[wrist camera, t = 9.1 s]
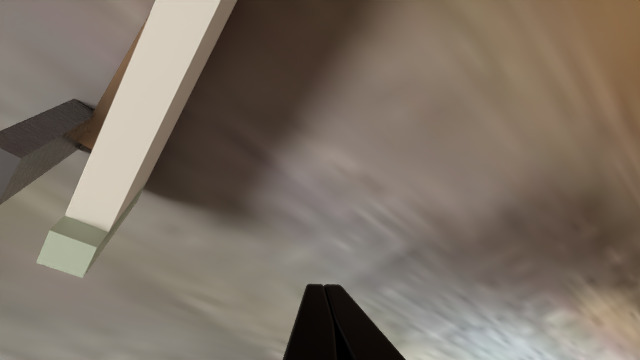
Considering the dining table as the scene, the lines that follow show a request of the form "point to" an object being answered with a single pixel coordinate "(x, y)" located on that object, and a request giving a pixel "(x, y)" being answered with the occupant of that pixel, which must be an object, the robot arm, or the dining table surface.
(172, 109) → the gate
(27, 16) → the dining table surface
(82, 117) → the gate posts
